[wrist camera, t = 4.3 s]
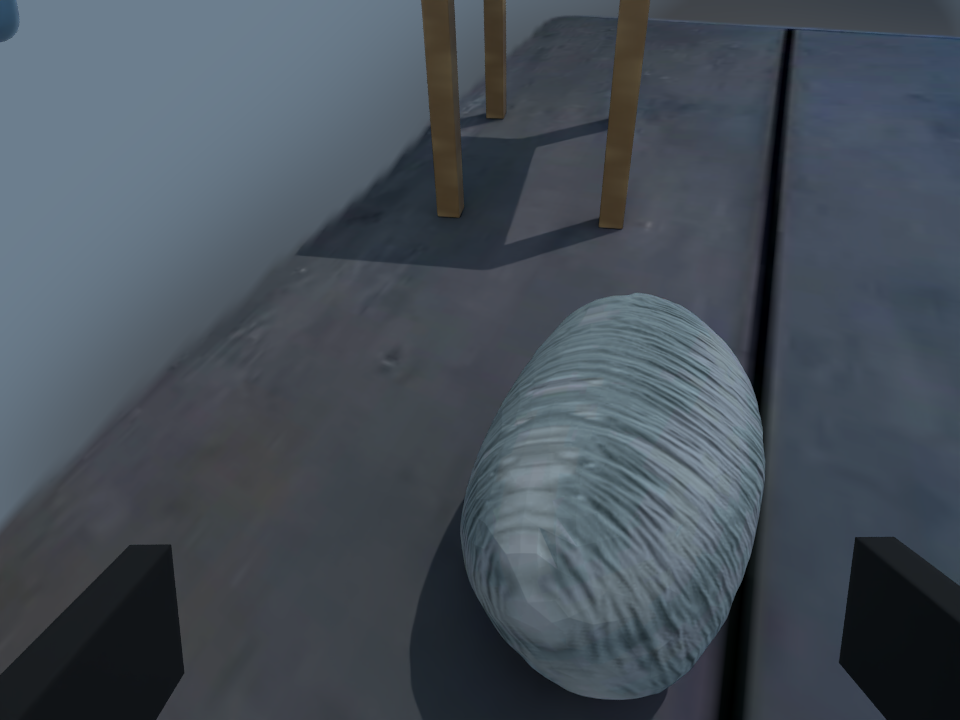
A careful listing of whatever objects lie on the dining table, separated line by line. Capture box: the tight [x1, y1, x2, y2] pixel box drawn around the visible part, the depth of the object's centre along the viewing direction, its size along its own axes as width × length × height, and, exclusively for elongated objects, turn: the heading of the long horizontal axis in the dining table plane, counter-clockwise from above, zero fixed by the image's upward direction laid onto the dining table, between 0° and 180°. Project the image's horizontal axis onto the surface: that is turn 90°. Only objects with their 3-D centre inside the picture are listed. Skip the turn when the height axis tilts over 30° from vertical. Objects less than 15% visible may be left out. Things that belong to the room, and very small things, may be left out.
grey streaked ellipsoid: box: [460, 293, 765, 700], centre depth 23 cm, size 14×10×10 cm
